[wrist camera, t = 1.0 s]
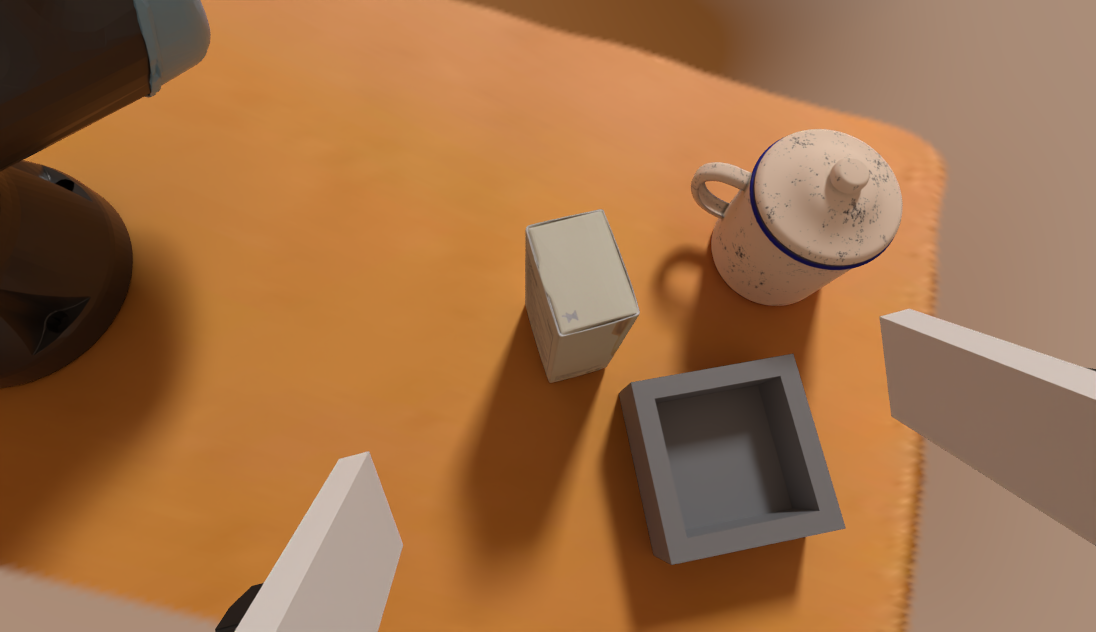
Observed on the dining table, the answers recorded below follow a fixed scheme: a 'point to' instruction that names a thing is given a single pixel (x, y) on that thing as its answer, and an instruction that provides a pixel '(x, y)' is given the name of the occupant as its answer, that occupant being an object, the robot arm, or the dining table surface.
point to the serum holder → (728, 459)
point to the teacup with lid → (800, 215)
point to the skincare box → (577, 294)
